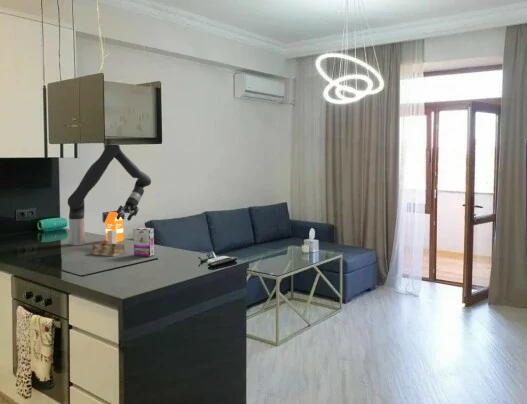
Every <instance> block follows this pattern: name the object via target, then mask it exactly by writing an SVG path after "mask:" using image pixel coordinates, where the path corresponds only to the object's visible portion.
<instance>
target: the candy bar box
mask: <svg viewBox="0 0 527 404" xmlns="http://www.w3.org/2000/svg"><path fill="white" fill-rule="evenodd" d="M154 232H155V228H153V227H151V228H150V227H135V228H133V255H134V256H135V257H147V258H149V257H153V256H155V233H154Z"/></svg>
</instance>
